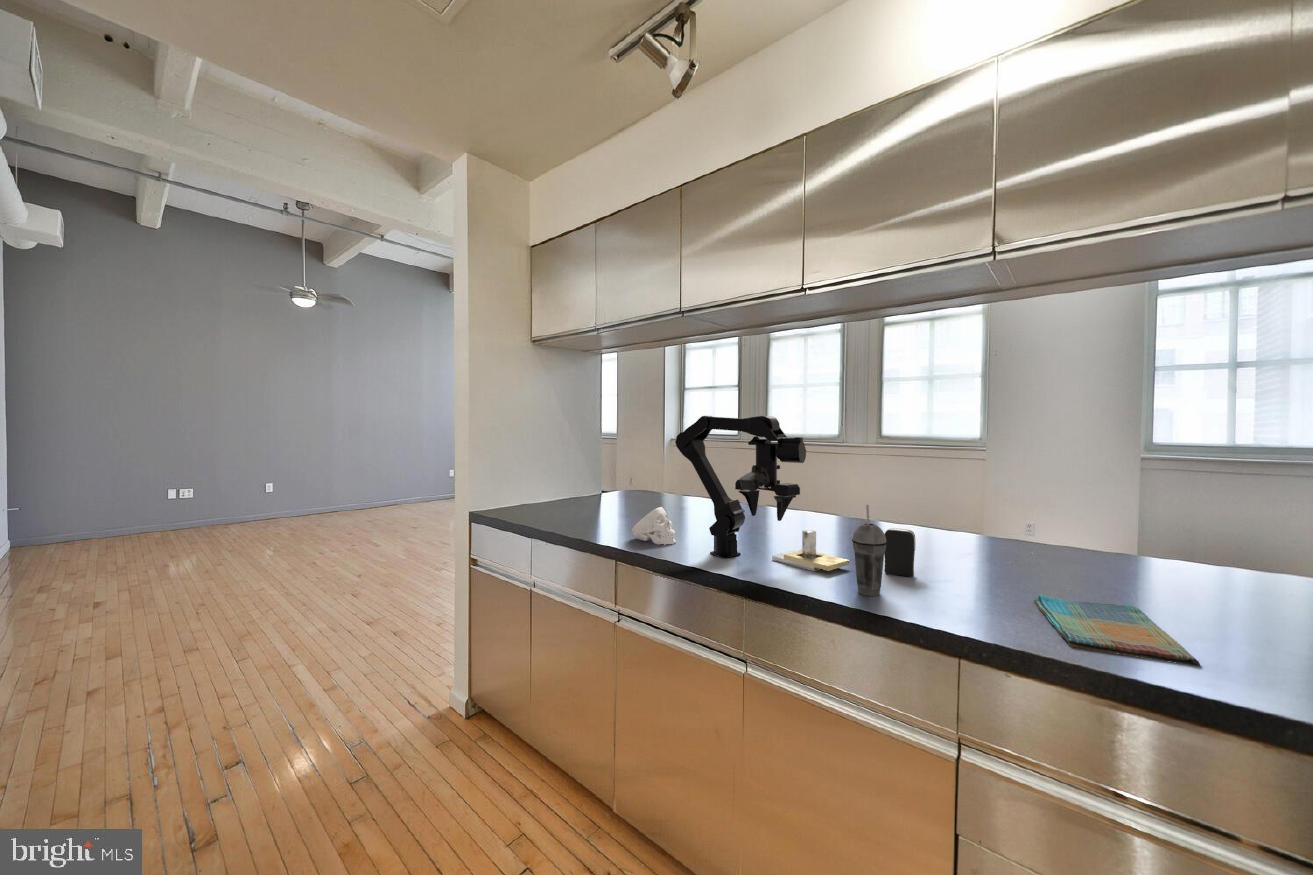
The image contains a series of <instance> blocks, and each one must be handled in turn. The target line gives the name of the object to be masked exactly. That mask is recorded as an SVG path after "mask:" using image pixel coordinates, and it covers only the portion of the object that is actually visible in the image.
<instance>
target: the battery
mask: <svg viewBox="0 0 1313 875" xmlns="http://www.w3.org/2000/svg"><path fill="white" fill-rule="evenodd" d="M884 534H885V536H886V542H887V544H886V550H885V553H884V570H883V571H884V573H885V574H889V575H896V576H901V577H910V578H911V577H912V578H913V577H915V556H916V555H915V554H916V534H915V532H914V531H912V530H911V529H906V528H896V527H891V528H888V529H887V530H885V532H884Z"/></svg>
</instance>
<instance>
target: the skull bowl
mask: <svg viewBox="0 0 1313 875" xmlns="http://www.w3.org/2000/svg"><path fill="white" fill-rule="evenodd" d="M672 528H673V523H672V521H671V520H670V519H669V516H668V514H667V512H666V511H665V509H664V508H663V507H662V506H660V507H657V508H654V509H653V510H650V511H649V513H647V514H645V516H643V517H642V518H641V519H640V520H639V521H638V522H637V523H635V524H634V526H633V527H632V529H631V532H632V534H633V535H634V537H635V538H637V539H638V540H640V541H644V542H646V541H650V540H652V543H653V544H655V545H660V544H664V545H663V546H667V545H666V544H672V545H673V544H676V543H677V541H676V539H675V536H676V535H675V534H676V532H675V530H674V529H672ZM659 536H660V537H659Z"/></svg>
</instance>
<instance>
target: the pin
mask: <svg viewBox="0 0 1313 875" xmlns="http://www.w3.org/2000/svg"><path fill="white" fill-rule="evenodd" d="M801 533H802V534H801V542H802V543H801V548H802V549H801V550H802V557H804V558H808V559H815V558H816V552H817V531H816V530H813V529H803V530H802V531H801Z"/></svg>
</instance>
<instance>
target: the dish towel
mask: <svg viewBox="0 0 1313 875" xmlns="http://www.w3.org/2000/svg"><path fill="white" fill-rule="evenodd" d="M1033 603H1034V605H1035V606H1036V607H1037V609H1039V610H1040V612H1042V613H1043V615H1045V618H1046V619H1047V620H1048V621H1049V622H1050V624H1051V625H1053V626H1054V629H1056V631H1057V632H1058V634H1059V635H1060V636H1061V637H1062V639H1063V640H1064V641H1065V642H1066V643H1067V645H1068V647H1070V646H1072V647H1071V648H1075V647H1077V649H1083V650H1088V649H1089V650H1090V651H1095V652H1102V653H1110V654H1115V653H1119V654H1118V655H1121V654H1125V655H1124V656H1128V655H1131V656H1130V657H1134V656H1138V657H1137V658H1141V657H1143V658H1142V659H1147V658H1148V660H1154V659H1155V661H1162V662H1167V661H1171V662H1170V663H1174V662H1176V663H1175V664H1181V663H1182V664H1183V665H1188V666H1195V667H1201V664H1200V661H1199V660H1197V659H1196V658H1195V657H1194V656H1193V655H1192V654H1191V653H1190V652H1188V651H1187V649H1186V648H1185V647H1183V646H1182V645H1181V644H1180V643H1179V642H1178V641H1176V640H1175V639H1174V637H1172V636H1170V635H1169V634H1168V633H1167V632H1166V631H1165V630H1163V629H1162V628H1161V627H1160V626H1159V625H1157V623H1155V622H1154V621H1153V620H1152V619H1151V618H1149V616H1148V615H1147V614H1146V613H1145V612H1143V611H1142V610H1141V609H1140V608H1139V607H1136V606H1133V605H1131V604H1123V603H1122V604H1120V603H1119V604H1118V603H1116V604H1115V603H1099V602H1088V601H1076V600H1075V601H1073V600H1065V599H1061V598H1056V597H1052V596H1048V595H1047V596H1046V595H1044V594H1039V595H1034V600H1033Z"/></svg>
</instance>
